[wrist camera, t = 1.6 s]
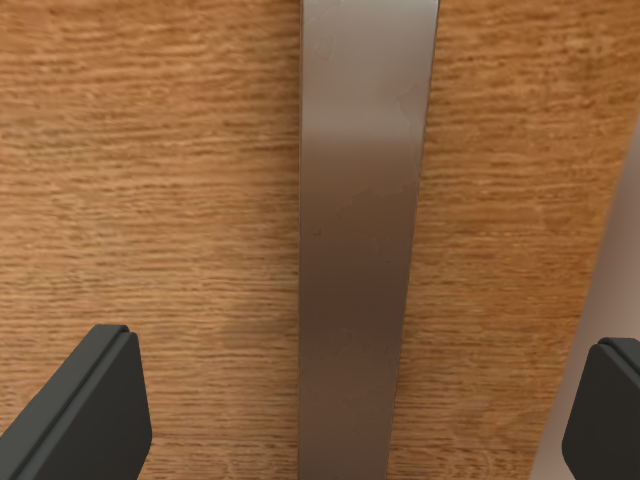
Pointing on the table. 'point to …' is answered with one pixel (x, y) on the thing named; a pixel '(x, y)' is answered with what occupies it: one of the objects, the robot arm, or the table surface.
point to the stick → (357, 221)
